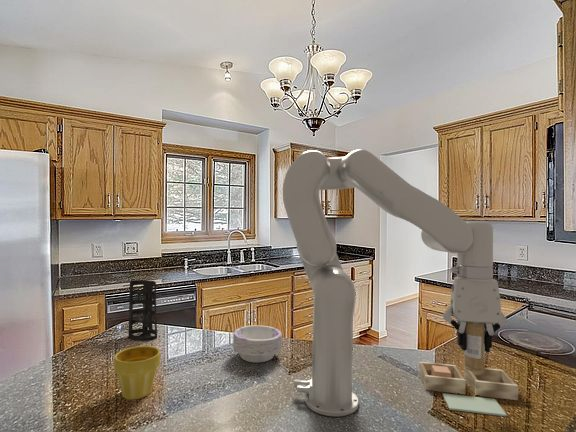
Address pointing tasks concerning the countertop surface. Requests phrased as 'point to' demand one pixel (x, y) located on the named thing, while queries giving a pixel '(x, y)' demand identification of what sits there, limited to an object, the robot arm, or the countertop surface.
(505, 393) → the box
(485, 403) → the mat
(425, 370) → the box
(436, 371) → the terracotta cube
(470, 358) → the sprinkles bottle
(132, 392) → the plant pot
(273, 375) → the countertop surface
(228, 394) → the countertop surface
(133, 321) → the holder
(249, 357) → the white bowl
